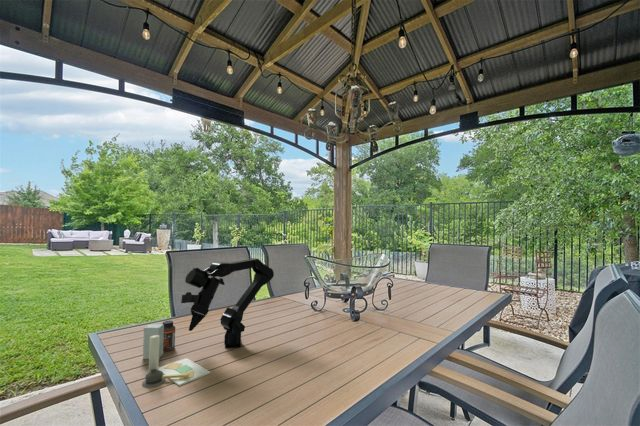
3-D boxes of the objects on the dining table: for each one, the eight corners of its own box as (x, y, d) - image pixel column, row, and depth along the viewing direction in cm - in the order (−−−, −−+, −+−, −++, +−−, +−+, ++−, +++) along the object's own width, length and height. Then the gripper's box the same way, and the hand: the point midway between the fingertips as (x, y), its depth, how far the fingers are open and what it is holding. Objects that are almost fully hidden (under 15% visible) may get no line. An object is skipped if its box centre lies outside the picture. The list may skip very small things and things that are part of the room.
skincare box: (163, 354, 119) (164, 324, 120) (158, 359, 115) (159, 327, 115) (148, 354, 119) (149, 324, 120) (142, 359, 115) (143, 327, 115)
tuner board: (186, 359, 115) (186, 357, 115) (210, 373, 104) (210, 371, 104) (133, 377, 101) (133, 375, 101) (154, 396, 90) (155, 394, 90)
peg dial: (169, 363, 110) (171, 330, 110) (190, 377, 100) (192, 341, 101) (136, 375, 101) (138, 339, 102) (156, 391, 92) (157, 351, 92)
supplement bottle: (157, 352, 121) (158, 324, 121) (160, 346, 126) (161, 320, 127) (173, 351, 122) (174, 323, 123) (175, 345, 128) (176, 319, 129)
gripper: (189, 285, 128) (171, 322, 122) (187, 283, 111) (166, 325, 105) (214, 294, 130) (197, 331, 124) (216, 293, 114) (197, 335, 108)
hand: (189, 330), depth 115 cm, fingers closed
